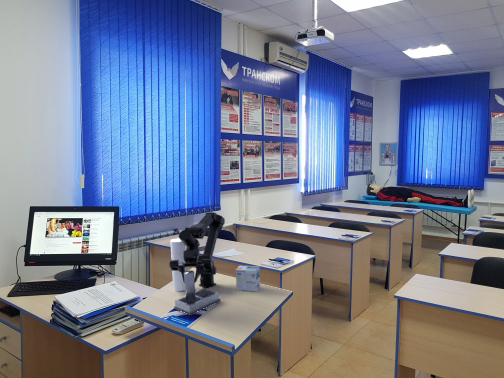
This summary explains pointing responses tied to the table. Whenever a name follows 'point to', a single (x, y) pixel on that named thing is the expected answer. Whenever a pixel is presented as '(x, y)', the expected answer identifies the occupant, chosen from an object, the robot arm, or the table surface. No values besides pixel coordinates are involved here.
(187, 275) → the shiny gray cylinder
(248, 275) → the light bulb box
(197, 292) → the gray divided tray
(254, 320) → the table surface
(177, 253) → the cylindrical container
